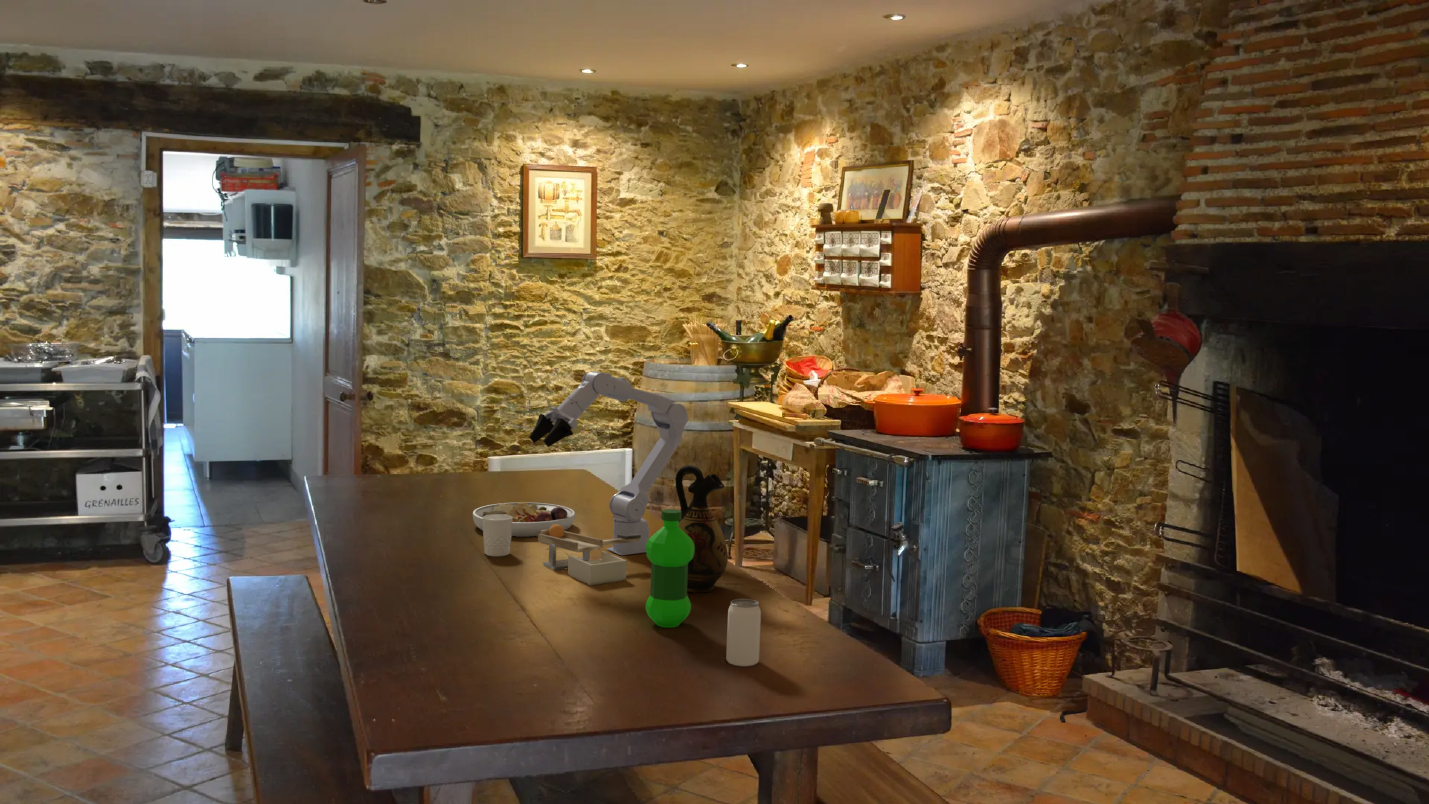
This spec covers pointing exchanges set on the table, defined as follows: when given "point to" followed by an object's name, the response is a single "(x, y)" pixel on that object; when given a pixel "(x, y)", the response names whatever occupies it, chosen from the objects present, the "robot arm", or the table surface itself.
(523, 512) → the bowl
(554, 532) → the ball
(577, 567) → the cream open box
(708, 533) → the ceramic jug
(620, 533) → the robot arm
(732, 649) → the can
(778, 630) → the table surface
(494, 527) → the white cup
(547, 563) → the lever stand
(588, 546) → the lever
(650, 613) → the plastic bottle
